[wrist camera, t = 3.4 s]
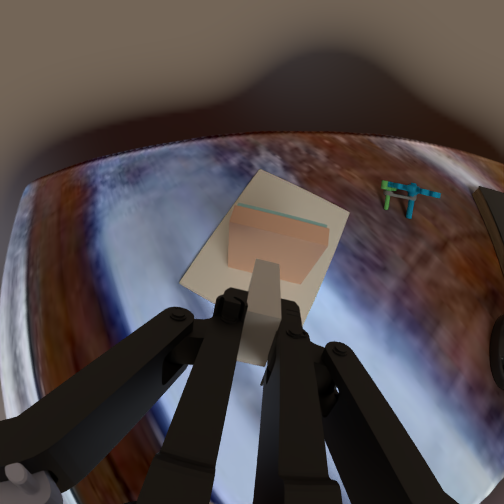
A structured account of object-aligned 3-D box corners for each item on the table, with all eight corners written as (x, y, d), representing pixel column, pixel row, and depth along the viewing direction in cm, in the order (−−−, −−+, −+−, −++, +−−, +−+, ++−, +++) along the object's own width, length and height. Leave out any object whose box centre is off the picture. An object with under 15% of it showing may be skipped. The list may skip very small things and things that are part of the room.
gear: (425, 186, 42) (451, 192, 32) (420, 217, 44) (445, 229, 34) (372, 175, 43) (392, 177, 34) (368, 207, 45) (386, 218, 36)
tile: (300, 284, 33) (327, 246, 24) (227, 266, 33) (229, 221, 24) (303, 266, 34) (329, 224, 25) (232, 249, 34) (236, 200, 25)
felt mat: (348, 214, 39) (349, 212, 38) (292, 345, 30) (293, 344, 29) (259, 170, 41) (259, 169, 40) (179, 283, 32) (179, 282, 31)
